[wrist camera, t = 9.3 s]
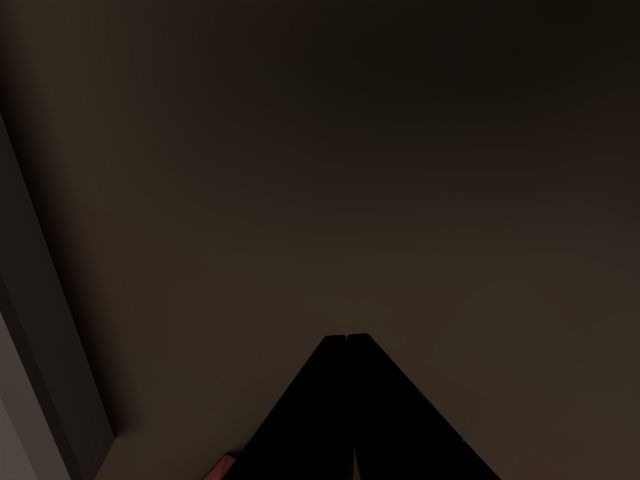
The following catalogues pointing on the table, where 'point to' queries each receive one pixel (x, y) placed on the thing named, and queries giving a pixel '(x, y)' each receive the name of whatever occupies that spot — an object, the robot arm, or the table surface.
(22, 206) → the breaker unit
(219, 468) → the ink cartridge box
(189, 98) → the table surface
